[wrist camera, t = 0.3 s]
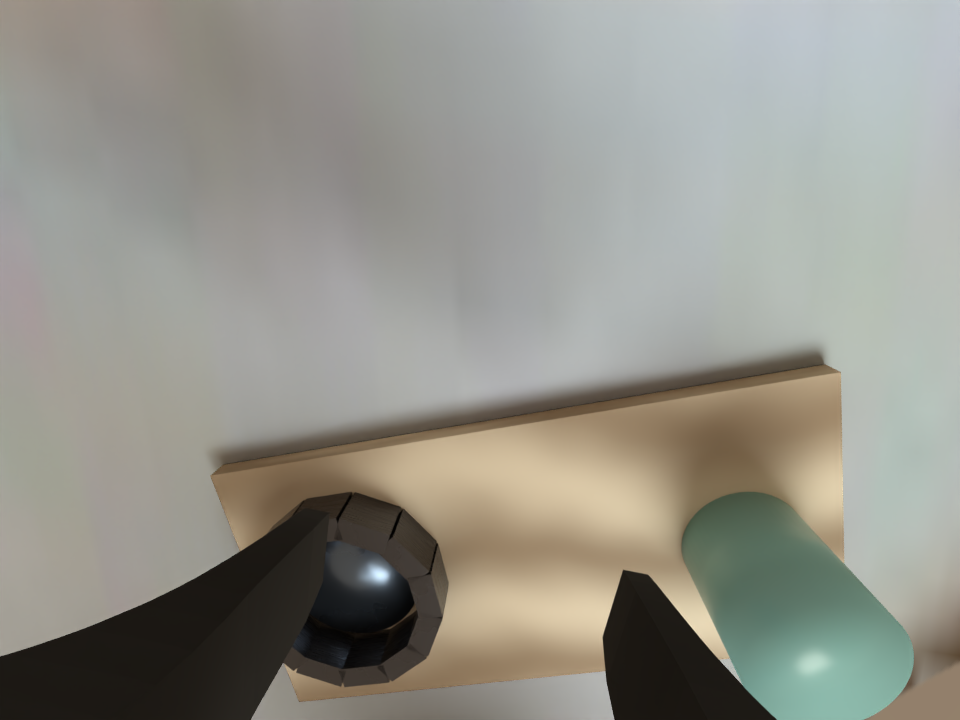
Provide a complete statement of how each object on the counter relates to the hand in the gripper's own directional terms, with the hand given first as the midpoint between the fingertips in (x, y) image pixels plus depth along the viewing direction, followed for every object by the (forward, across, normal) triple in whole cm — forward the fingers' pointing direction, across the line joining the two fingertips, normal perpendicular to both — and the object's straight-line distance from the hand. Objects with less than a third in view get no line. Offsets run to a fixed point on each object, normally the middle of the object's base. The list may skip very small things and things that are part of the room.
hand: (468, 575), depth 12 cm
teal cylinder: (+9, -11, +3) cm, 15 cm away
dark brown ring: (+10, +5, +8) cm, 14 cm away
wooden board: (+10, -3, +6) cm, 12 cm away
